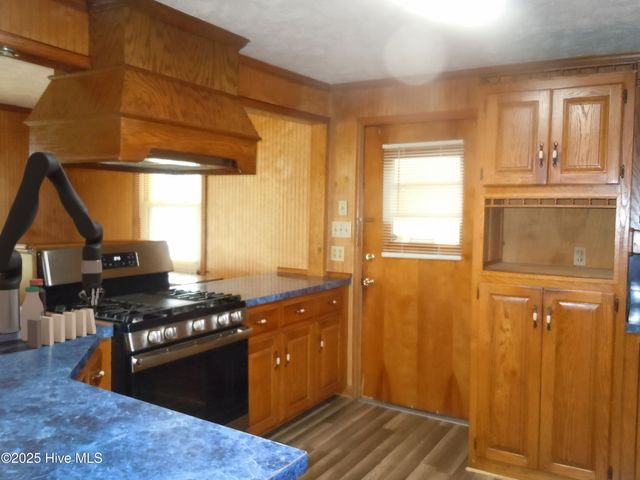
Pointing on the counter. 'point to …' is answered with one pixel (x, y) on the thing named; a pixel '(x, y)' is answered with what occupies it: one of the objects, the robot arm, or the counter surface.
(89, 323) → the domino
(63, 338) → the domino
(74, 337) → the domino
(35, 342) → the domino
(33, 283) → the vinegar
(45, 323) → the domino
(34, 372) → the counter surface
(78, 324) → the domino
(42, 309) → the milk bottle
